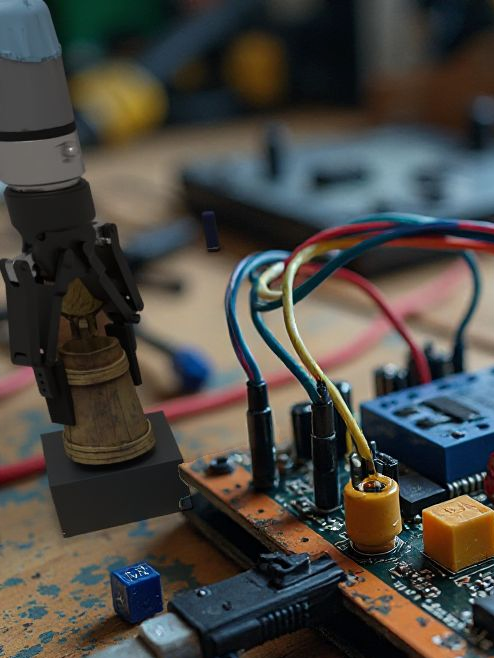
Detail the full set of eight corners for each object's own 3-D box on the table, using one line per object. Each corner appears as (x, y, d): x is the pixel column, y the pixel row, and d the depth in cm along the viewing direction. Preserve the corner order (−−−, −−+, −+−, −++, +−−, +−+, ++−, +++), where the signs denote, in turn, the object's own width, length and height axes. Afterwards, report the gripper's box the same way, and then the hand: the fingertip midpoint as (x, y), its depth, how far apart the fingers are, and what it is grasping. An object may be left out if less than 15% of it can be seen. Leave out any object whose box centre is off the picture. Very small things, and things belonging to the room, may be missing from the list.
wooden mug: (148, 406, 120) (117, 246, 111) (159, 456, 108) (126, 283, 100) (63, 419, 117) (25, 256, 108) (65, 471, 106) (23, 295, 97)
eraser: (208, 248, 194) (202, 210, 190) (221, 248, 194) (214, 210, 191) (206, 252, 192) (200, 214, 189) (219, 251, 192) (212, 213, 189)
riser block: (63, 538, 108) (49, 486, 105) (53, 482, 119) (40, 434, 116) (193, 508, 113) (183, 458, 110) (172, 457, 123) (162, 410, 120)
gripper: (-12, 215, 89) (54, 455, 100) (152, 157, 107) (192, 366, 118) (-81, 209, 91) (-9, 444, 103) (91, 153, 109) (136, 358, 120)
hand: (98, 402), depth 110 cm, fingers open, 9 cm apart
